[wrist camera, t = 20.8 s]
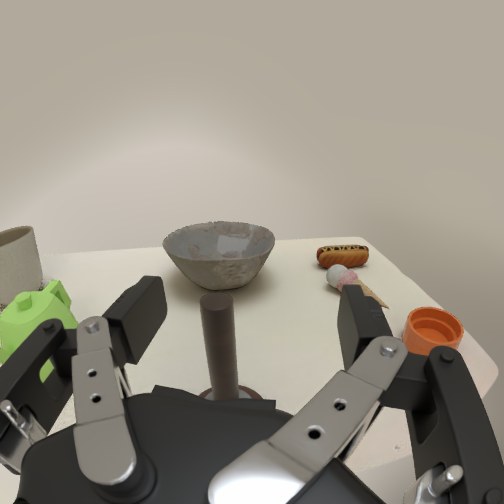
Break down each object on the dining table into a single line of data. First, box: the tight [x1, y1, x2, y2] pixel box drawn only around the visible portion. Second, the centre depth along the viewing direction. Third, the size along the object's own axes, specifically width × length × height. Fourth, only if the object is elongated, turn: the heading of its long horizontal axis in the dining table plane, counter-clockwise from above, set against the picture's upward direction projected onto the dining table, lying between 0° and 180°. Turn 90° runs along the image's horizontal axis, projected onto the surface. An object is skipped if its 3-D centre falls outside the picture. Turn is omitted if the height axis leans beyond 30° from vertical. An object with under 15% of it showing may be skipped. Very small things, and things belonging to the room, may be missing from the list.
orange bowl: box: [402, 307, 464, 356], centre depth 38 cm, size 10×10×4 cm
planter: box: [0, 226, 42, 306], centre depth 49 cm, size 17×17×15 cm
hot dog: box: [317, 245, 369, 268], centre depth 67 cm, size 5×13×5 cm, turn 95°
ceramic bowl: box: [163, 221, 275, 290], centre depth 60 cm, size 22×23×10 cm
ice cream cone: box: [326, 264, 390, 309], centre depth 54 cm, size 5×5×15 cm
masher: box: [199, 292, 251, 400], centre depth 27 cm, size 6×6×16 cm
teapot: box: [0, 280, 79, 382], centre depth 32 cm, size 20×13×13 cm
